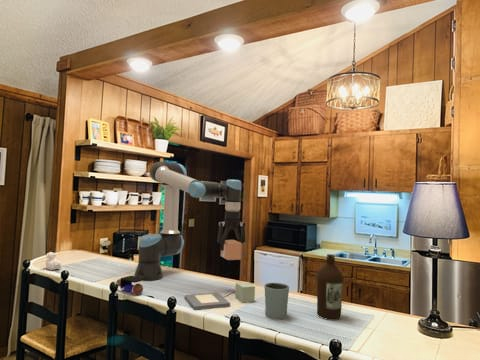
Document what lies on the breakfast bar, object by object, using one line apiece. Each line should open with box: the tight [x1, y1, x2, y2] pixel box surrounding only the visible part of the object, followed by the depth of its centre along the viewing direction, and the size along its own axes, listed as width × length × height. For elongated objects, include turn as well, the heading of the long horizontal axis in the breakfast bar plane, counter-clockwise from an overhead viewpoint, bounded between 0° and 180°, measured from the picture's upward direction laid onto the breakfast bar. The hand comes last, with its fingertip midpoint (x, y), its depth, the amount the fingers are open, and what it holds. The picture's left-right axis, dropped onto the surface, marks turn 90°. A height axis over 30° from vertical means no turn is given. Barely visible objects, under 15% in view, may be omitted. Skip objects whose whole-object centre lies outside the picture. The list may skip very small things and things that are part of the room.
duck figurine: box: [45, 251, 62, 271], centre depth 198 cm, size 12×8×11 cm
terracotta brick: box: [220, 239, 243, 261], centre depth 171 cm, size 10×7×8 cm
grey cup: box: [264, 282, 290, 320], centre depth 139 cm, size 10×10×12 cm
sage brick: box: [234, 281, 256, 304], centre depth 158 cm, size 8×6×7 cm
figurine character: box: [116, 275, 146, 296], centre depth 162 cm, size 7×8×15 cm
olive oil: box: [316, 253, 344, 320], centre depth 142 cm, size 11×11×25 cm
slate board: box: [184, 292, 231, 311], centre depth 152 cm, size 16×16×2 cm
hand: (230, 256), depth 170 cm, fingers closed on terracotta brick, 7 cm apart
